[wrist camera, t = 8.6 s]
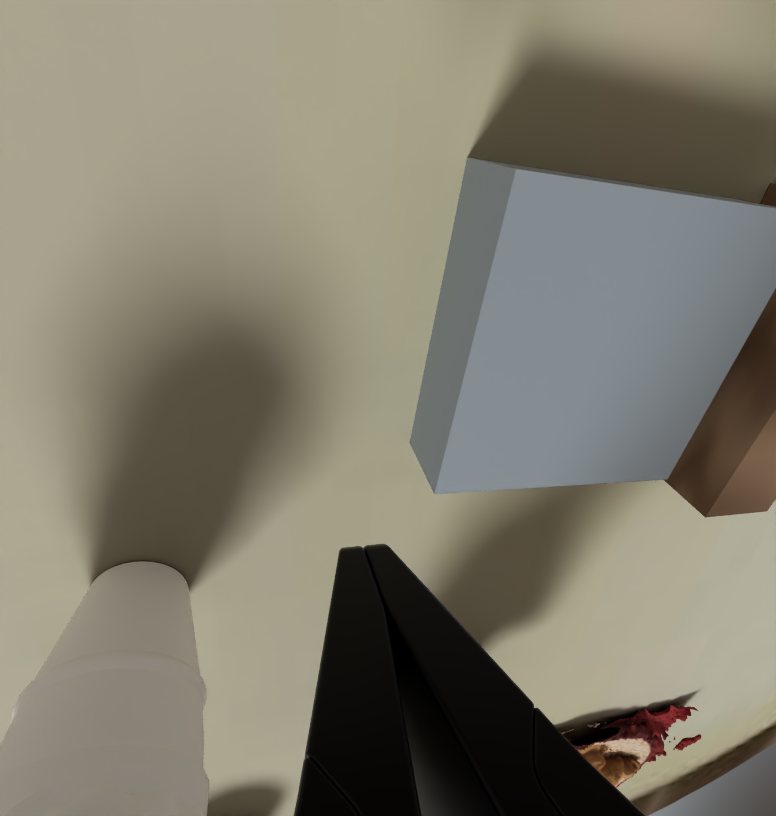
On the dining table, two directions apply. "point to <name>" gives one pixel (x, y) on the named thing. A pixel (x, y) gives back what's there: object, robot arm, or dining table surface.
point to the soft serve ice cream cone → (113, 708)
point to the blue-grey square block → (583, 327)
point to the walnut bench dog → (737, 430)
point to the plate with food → (634, 743)
